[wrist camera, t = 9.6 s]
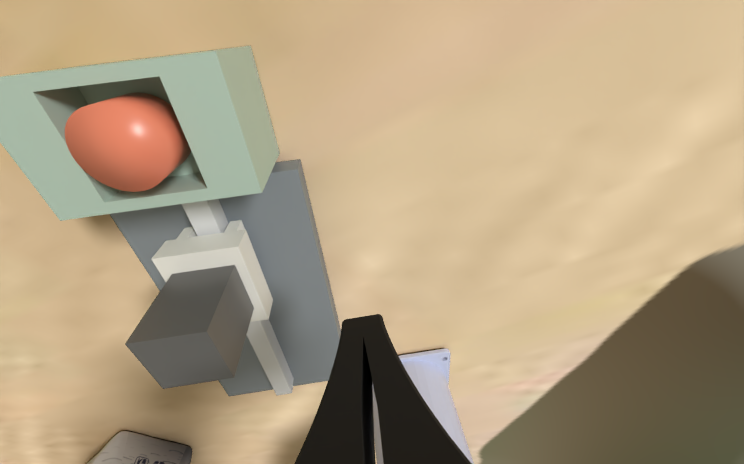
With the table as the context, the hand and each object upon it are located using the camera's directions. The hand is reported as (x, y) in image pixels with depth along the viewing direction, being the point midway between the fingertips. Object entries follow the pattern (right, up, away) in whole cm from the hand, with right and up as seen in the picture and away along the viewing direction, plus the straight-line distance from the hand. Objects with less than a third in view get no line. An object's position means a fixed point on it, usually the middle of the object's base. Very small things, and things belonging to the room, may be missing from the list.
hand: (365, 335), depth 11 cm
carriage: (-8, +2, +7) cm, 11 cm away
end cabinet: (-9, +10, +4) cm, 14 cm away
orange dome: (-9, +8, +1) cm, 12 cm away
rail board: (-8, -1, +11) cm, 13 cm away
